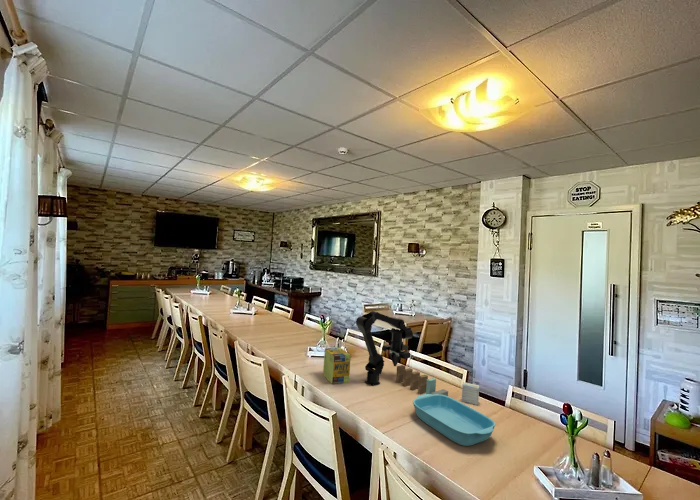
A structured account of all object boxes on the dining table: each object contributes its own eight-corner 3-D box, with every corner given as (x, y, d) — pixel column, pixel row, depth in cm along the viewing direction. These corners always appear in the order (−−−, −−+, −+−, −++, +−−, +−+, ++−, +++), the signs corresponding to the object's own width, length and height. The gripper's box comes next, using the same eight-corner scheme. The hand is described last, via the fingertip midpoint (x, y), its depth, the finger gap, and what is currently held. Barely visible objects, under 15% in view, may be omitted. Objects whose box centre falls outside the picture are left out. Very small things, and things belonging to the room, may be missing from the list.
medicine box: (478, 402, 163) (479, 385, 163) (478, 405, 159) (479, 388, 159) (462, 398, 166) (463, 381, 166) (461, 401, 162) (462, 384, 162)
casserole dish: (402, 412, 147) (403, 396, 147) (437, 404, 158) (438, 389, 158) (468, 458, 115) (469, 438, 115) (506, 444, 126) (507, 425, 126)
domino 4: (426, 392, 170) (427, 375, 171) (420, 394, 167) (421, 377, 168) (424, 391, 172) (425, 374, 172) (417, 392, 169) (418, 376, 169)
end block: (435, 404, 157) (435, 395, 157) (430, 401, 159) (430, 392, 159) (447, 400, 163) (448, 391, 163) (442, 397, 165) (443, 389, 165)
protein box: (331, 384, 172) (333, 356, 173) (322, 374, 186) (324, 348, 187) (349, 382, 177) (351, 354, 177) (339, 372, 191) (340, 347, 191)
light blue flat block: (425, 397, 165) (426, 379, 165) (432, 395, 168) (433, 377, 168) (428, 398, 163) (429, 380, 163) (435, 396, 166) (436, 379, 166)
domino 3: (419, 388, 175) (420, 372, 175) (412, 390, 172) (413, 373, 172) (416, 387, 176) (417, 371, 177) (410, 389, 173) (411, 372, 174)
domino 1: (404, 381, 184) (405, 366, 184) (398, 383, 181) (399, 367, 181) (402, 380, 185) (402, 365, 186) (395, 382, 182) (396, 366, 183)
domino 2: (411, 385, 179) (412, 369, 179) (405, 386, 176) (406, 370, 176) (409, 383, 181) (409, 368, 181) (402, 385, 178) (403, 369, 178)
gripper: (417, 342, 185) (416, 369, 184) (395, 334, 200) (393, 359, 199) (404, 344, 178) (403, 372, 178) (382, 336, 193) (380, 362, 193)
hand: (395, 366), depth 187 cm, fingers closed
